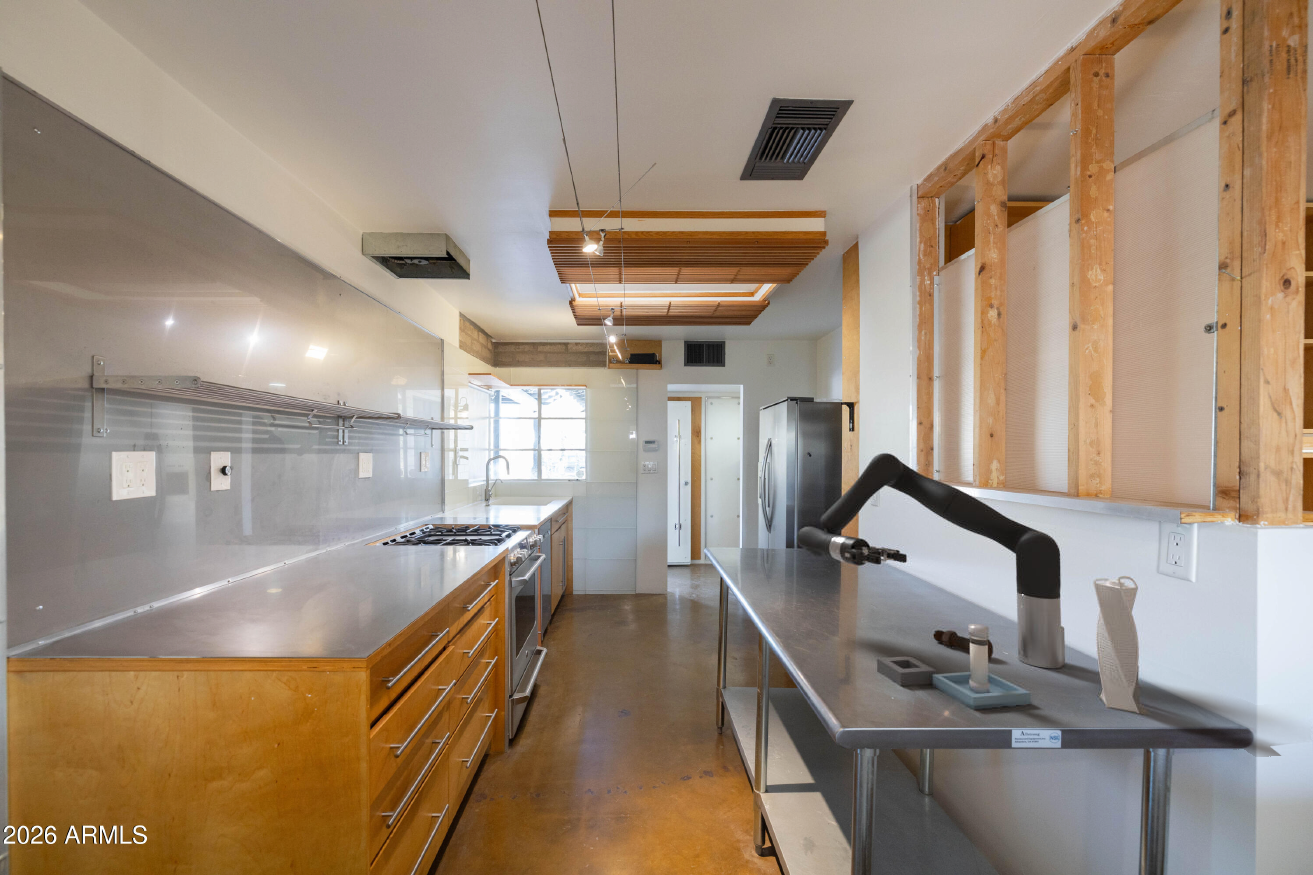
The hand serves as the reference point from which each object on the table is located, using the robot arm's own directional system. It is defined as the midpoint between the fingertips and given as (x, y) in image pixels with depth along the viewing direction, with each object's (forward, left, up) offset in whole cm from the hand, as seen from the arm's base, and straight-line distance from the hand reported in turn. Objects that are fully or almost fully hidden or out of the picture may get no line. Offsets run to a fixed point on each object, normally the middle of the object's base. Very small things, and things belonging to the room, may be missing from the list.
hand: (893, 559), depth 138 cm
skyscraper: (-33, +30, -26) cm, 52 cm away
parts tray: (-7, +21, -26) cm, 34 cm away
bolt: (-24, -5, -26) cm, 36 cm away
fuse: (-7, +21, -25) cm, 33 cm away
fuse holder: (+3, +9, -26) cm, 28 cm away
